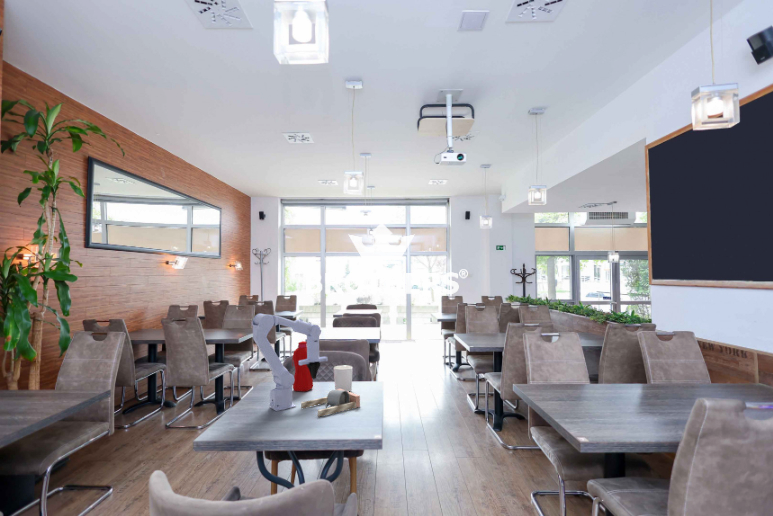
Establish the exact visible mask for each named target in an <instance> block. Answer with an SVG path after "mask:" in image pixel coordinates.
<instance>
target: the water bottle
mask: <svg viewBox="0 0 773 516" xmlns="http://www.w3.org/2000/svg"><path fill="white" fill-rule="evenodd" d="M297 344H298V346H297V348H296V349H295V350H294V351H293V354H292V359H291V362H293V363H291V365H292V367H294V374H293V376H294V379H295V380H294V384H293V385H292V391H294V392H302V393H303V392H308V391H310V390H312V389H313V387H314V379H312V378H311V374H310V371H309V369H308V367H307V365H306V364H304V365H299V361H300V360H304V359H307V341H303V340H301V341H300V342H298V343H297Z"/></svg>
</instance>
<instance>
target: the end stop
mask: <svg viewBox="0 0 773 516" xmlns="http://www.w3.org/2000/svg"><path fill="white" fill-rule="evenodd" d="M337 390H343V389H337ZM347 392H348V391H347ZM348 393H349V395H350V401H349V403H351V402H356V408H355V409H357V407H358V408H360V407H361V396H360V395H359V394H356V393H354V392H351V391H350V392H348Z"/></svg>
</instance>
